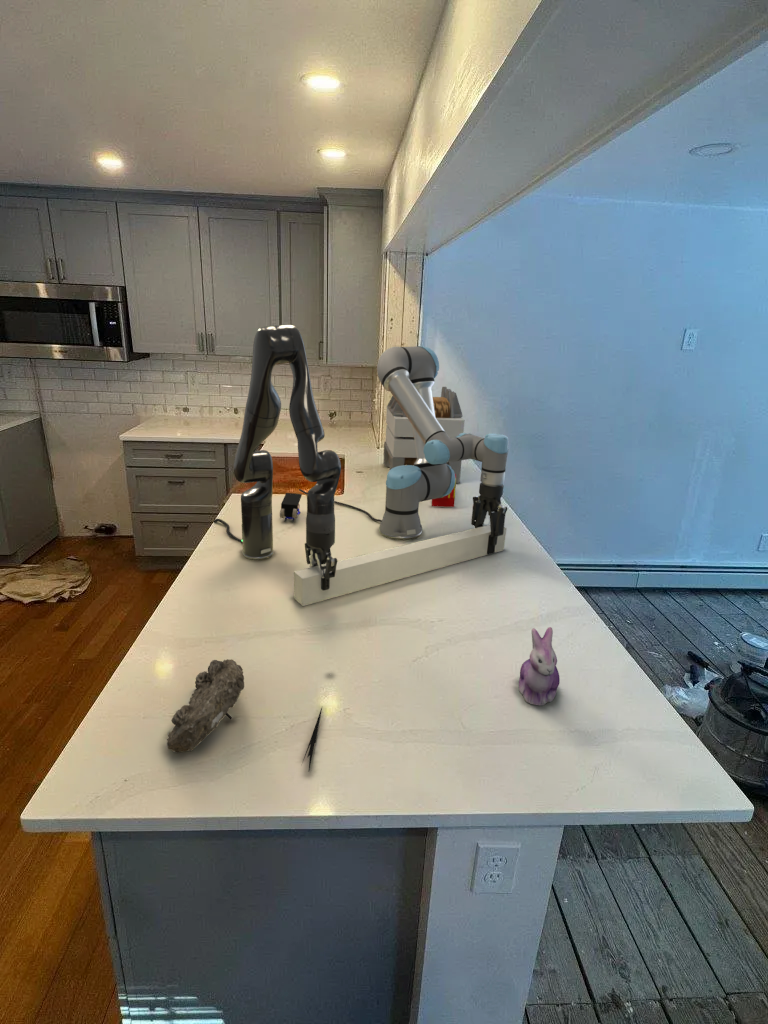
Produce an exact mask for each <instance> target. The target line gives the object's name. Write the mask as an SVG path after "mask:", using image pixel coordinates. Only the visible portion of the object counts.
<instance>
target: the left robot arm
mask: <svg viewBox="0 0 768 1024" xmlns="http://www.w3.org/2000/svg"><path fill="white" fill-rule="evenodd" d="M251 362H252V363H251V374H250V380H249V381H250V382H249V388H248V394H247V399H246V403H245V408H244V414H243V415H244V416H243V422H242V429H241V434H240V438H239V441H238V445H237V447H236V452H235V455H234V459H233V474H234V477H235V479H236V480H237V482H239V483H242V484H248V483H249V484H250V483H255V484H254V485H253V486H252V487H250V488H248V489H246V490H245V491H243V492H242V493H241V494H240V509H241V511H240V512H241V513H240V514H241V539H240V538H238V536H236V535H234V534H233V533H232V532H231V530H230V525H229V524H228V523H227V522H226V521H225V520H223V519H220V518H215V519H214V520H213V523H214V524H216V523H217V522H218V523H220V524H222V525H223V526H224V527H226V533H227V535H228V536H229V537H230V538H231V539H232V540H234V541H236V542H238V543H242V545H241V546H242V556H243V557H244V558H245V559H247V560H253V561H260V560H261V561H262V560H267V559H269V558H271V557H273V555H274V554H275V553H274V533H273V531H274V530H273V528H274V526H273V489H274V488H273V486H274V461H273V457H272V454H271V453H270V452H269V451H268V450H266V449H260V450H257V449H258V448H259V446H260V445H262V444H263V442H264V441H266V440H267V439H268V438H269V437H270V436H271V435H272V434H273V432H274V431H275V430H276V428H277V426H278V423H279V419H280V416H281V410H282V400H281V397H280V396H279V393H278V392H277V389H276V388H275V386H274V385H273V382H272V373H273V370H274V367H275V366H279V365H284V364H288V365H289V367H290V371H291V374H292V389H291V394H290V400H289V407H288V411H289V412H288V413H289V418H290V419H289V420H290V423H291V425H292V428H293V431H294V434H295V437H296V440H297V454H298V455H297V457H298V467H299V471H300V472H301V474H302V476H303V478H305V480H307V481H308V482H310V483H315V485H314V486H312V487H310V488H309V489H308V491H307V494H306V517H305V543H304V550H305V551H304V552H305V560H306V564H307V565H309V568H310V567H315V566H318V569H319V570H320V571H321V589H322V590H323V591H324V590H328V589H329V588H330V578H332V577H335V572H336V566H337V561H338V559H337V557H332V552H331V551H332V550H331V548H332V547H333V546H334V545H335V543H336V515H335V503H334V501H335V495H336V491H337V488H338V484H339V481H340V477H341V471H342V463H341V462H342V461H341V459H340V456H339V455H338V453H336V452H335V451H334V450H331V449H325V450H320V451H319V450H318V443H319V442H321V441H323V440H324V438H325V429H324V426H323V423H322V420H321V418H320V415H319V411H318V409H317V406H316V401H315V397H314V393H313V386H312V383H311V376H310V369H309V363H308V359H307V353H306V348H305V343H304V340H303V337H302V334H301V332H300V330H299V328H298V327H296V326H295V325H294V324H290V323H286V324H276V325H267V326H262V327H260V328H258V330H257V331H256V333H255V335H254V339H253V347H252V361H251ZM323 564H326V565H325V566H322V565H323ZM324 569H325V573H324Z"/></svg>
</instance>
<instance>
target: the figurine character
mask: <svg viewBox="0 0 768 1024" xmlns="http://www.w3.org/2000/svg"><path fill="white" fill-rule="evenodd" d="M301 499H302V493H293V492H285V495H284V496H283V499H282V500H281V503H280V512H279V518H280V519H283V522H284V523H287V520H291V523H294V522H295V520H296V519H297V518H298V516H299V515H300V514H301V511H300V508H301V507H300V502H301Z"/></svg>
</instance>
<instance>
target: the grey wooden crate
mask: <svg viewBox="0 0 768 1024" xmlns="http://www.w3.org/2000/svg"><path fill="white" fill-rule="evenodd" d="M440 393H441V394H440V396H432V398H433V404H434V411H435V418H436V419H437V421H438V422H439V424H440V425H441V427H442V428H443V430H444V431H445V432H446V434H447V435H448V437H449V438H455V437H456V436H458V435H459V434H461V433H465V432H464V431H465V430H464V429H465V419H464V418H463V411H462V408H461V405H460V402H459V398H458V395H457V392H455V391H453V390H452V389H451V388H447V386H442V387H441V392H440ZM385 414H386V415H385V423H386V428H385V438H384V442H383V466H384V467H388V468H389V470H391V469H392V468H394V467H397V466H402V465H405V466H406V465H413V466H414V463H415V462H416V460H417V454H416V447H415V441H414V434H413V427H412V424H411V422H410V421H409V419H408V418H407V416H406V415H405V413H404V412H403V410H402V409H401V407H400V406H399V404H398V403H397V401H396V400H395V398H394V397H393V395H391V398H390V400H389V402H388V404H387V405H386V413H385ZM462 461H463V460H461V461H453V462H448V463H446V464H447V465H449V466H451V468H452V469H453V471H454V473H455V474H456V484H459V483H461V472H462Z"/></svg>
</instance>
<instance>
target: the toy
mask: <svg viewBox="0 0 768 1024" xmlns="http://www.w3.org/2000/svg"><path fill="white" fill-rule="evenodd" d="M456 486H457V483H456V474H455V486H454V488H453V490H452V491H451V493H450V494H449V495H447V496H444V497H441V498H437V499H431V507H436V508H437V507H438V508H443V507H444V508H455V499H456V489H457V488H456Z"/></svg>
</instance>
